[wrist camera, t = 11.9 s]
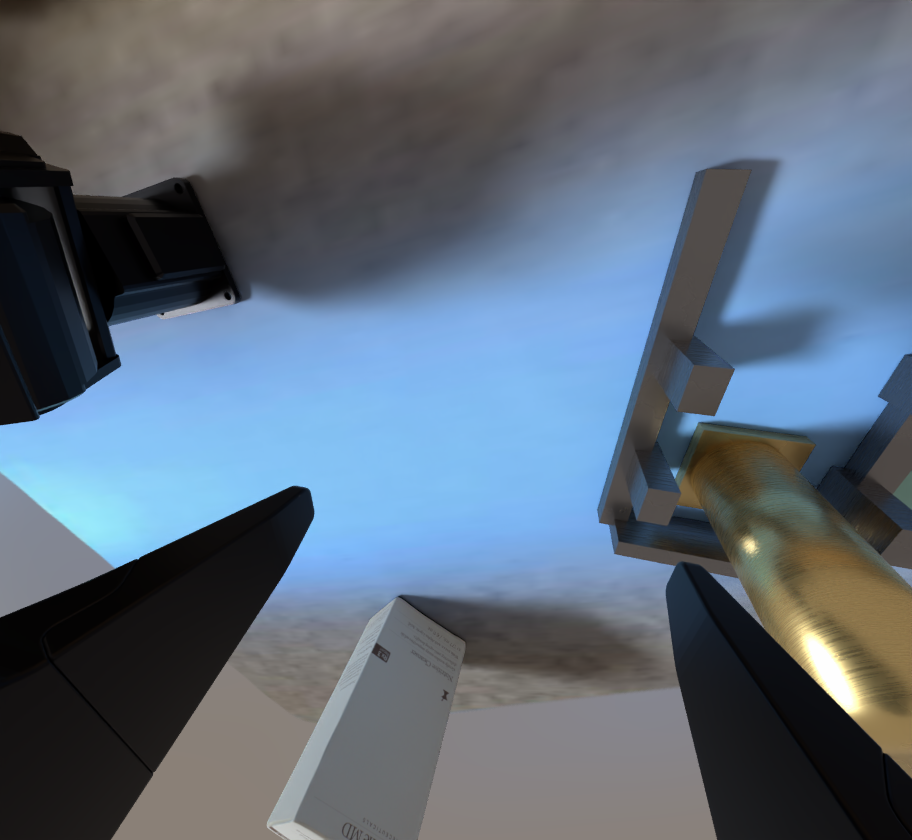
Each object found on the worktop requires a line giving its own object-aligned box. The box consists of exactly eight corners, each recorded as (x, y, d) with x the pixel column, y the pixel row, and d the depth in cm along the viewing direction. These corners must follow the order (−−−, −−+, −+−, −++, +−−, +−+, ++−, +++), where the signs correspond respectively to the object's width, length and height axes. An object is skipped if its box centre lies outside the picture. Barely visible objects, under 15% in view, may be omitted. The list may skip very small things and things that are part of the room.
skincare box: (468, 640, 34) (416, 897, 21) (433, 662, 37) (369, 897, 24) (393, 591, 33) (291, 828, 20) (363, 617, 36) (259, 837, 23)
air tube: (668, 495, 22) (778, 757, 11) (698, 422, 20) (874, 669, 9) (762, 510, 21) (978, 811, 10) (806, 436, 19) (1147, 729, 8)
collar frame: (595, 515, 24) (603, 572, 20) (696, 172, 15) (746, 156, 11) (879, 566, 21) (952, 644, 17) (1217, 180, 12) (1531, 162, 8)
